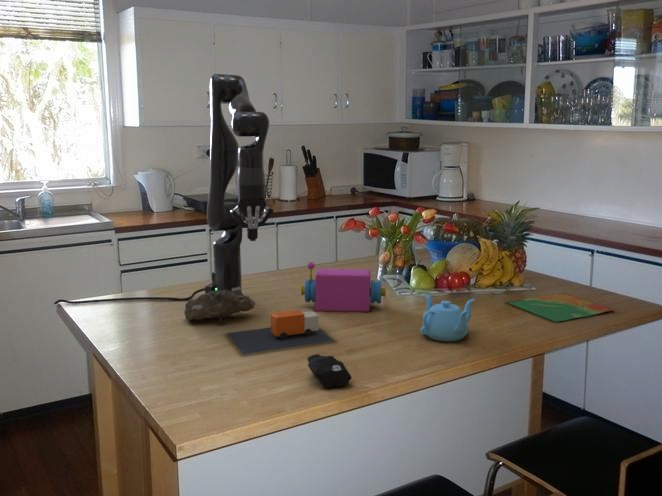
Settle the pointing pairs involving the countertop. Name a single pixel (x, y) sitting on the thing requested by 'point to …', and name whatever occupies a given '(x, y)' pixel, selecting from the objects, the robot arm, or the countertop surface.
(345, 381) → the rock
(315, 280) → the toy
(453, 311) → the teapot
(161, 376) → the countertop surface
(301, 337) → the mat
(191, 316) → the fossil
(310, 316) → the truck
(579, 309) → the terrain model
